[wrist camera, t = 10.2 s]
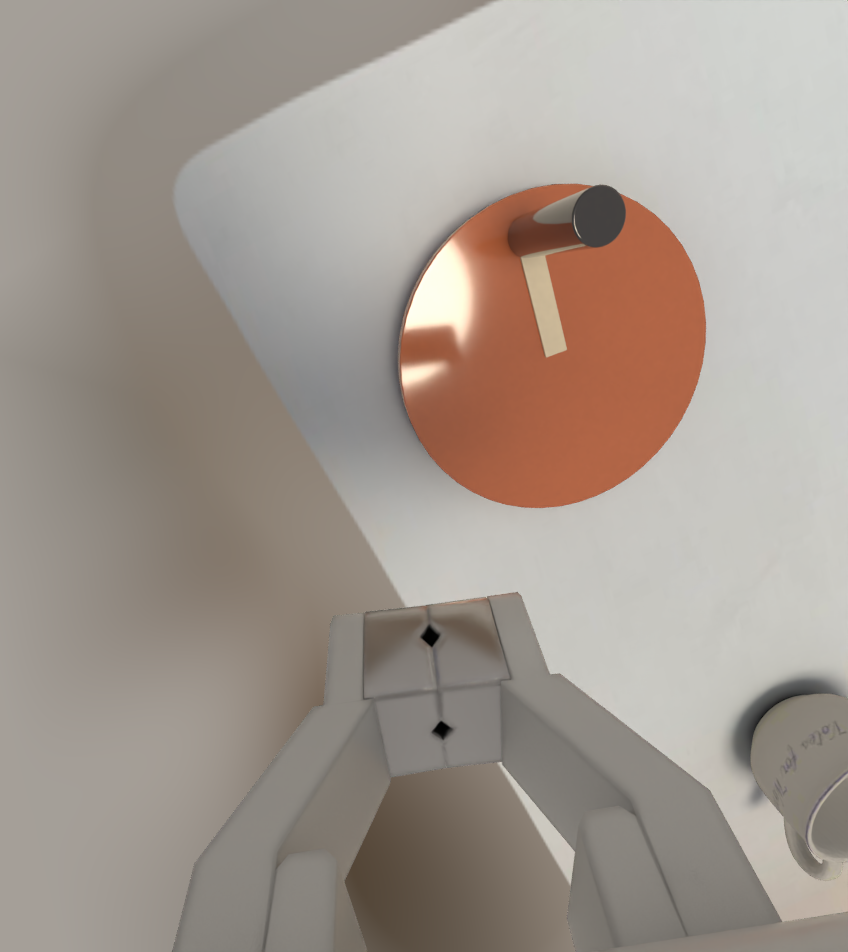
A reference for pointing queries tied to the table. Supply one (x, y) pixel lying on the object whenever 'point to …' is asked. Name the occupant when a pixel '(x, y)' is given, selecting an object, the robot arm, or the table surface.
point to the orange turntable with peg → (552, 345)
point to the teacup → (807, 777)
